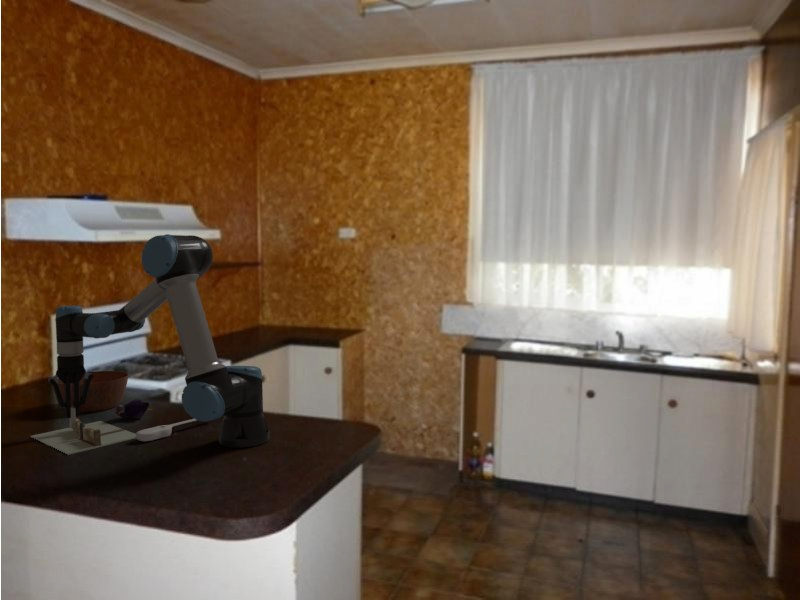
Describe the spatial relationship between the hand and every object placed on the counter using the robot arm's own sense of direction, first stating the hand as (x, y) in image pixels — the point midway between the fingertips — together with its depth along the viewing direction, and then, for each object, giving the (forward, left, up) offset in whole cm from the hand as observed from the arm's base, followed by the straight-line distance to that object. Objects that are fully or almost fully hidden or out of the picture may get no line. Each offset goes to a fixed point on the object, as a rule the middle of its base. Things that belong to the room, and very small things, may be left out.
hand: (72, 427), depth 201 cm
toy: (+2, -22, -3) cm, 22 cm away
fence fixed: (-14, +1, -2) cm, 14 cm away
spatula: (-24, -22, -3) cm, 33 cm away
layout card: (-6, -1, -2) cm, 7 cm away
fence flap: (-2, -1, -2) cm, 3 cm away
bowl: (+31, -20, -3) cm, 37 cm away
